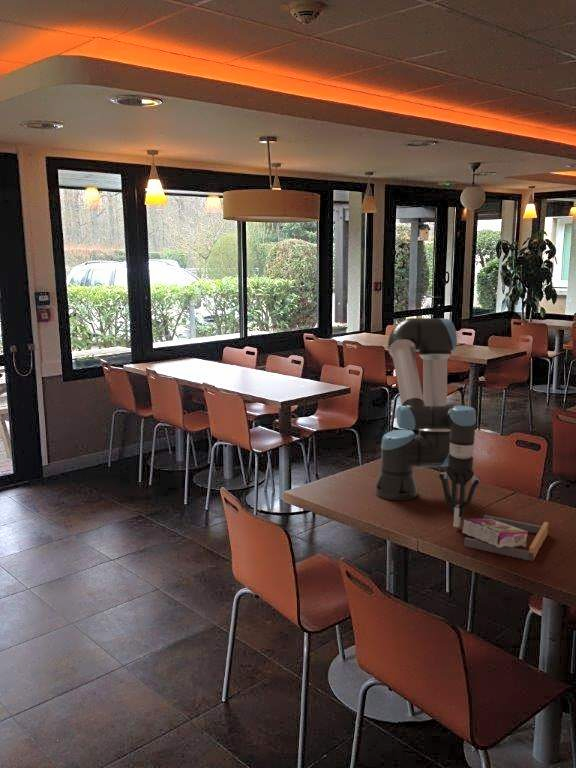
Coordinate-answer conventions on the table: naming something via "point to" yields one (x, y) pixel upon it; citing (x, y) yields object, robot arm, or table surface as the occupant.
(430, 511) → the table surface
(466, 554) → the table surface
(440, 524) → the table surface
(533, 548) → the u-shaped frame
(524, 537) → the candy bar box
